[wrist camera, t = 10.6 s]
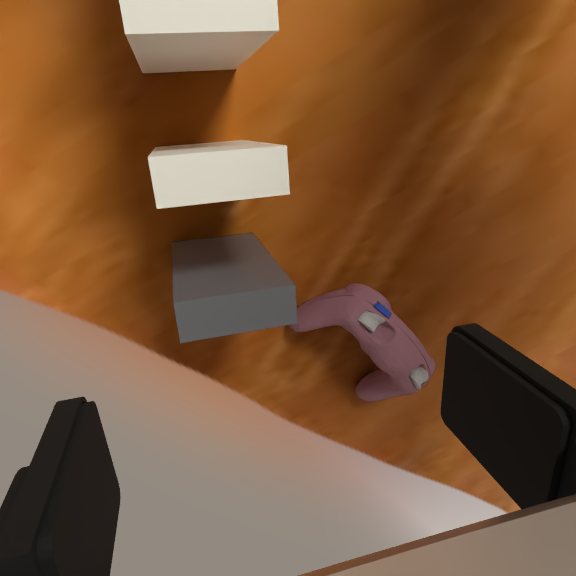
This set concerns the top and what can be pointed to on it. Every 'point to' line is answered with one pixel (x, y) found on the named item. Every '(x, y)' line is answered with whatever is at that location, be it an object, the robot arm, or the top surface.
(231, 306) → the domino
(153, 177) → the domino
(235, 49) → the domino
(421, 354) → the video game controller
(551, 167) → the top surface
